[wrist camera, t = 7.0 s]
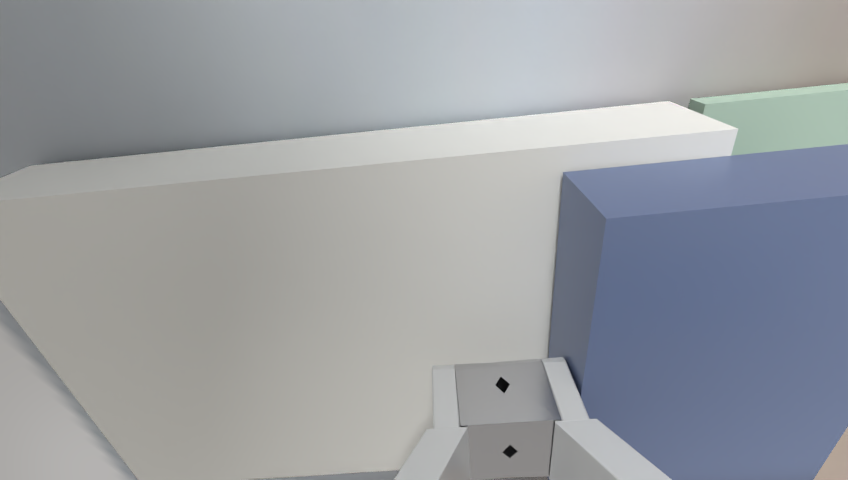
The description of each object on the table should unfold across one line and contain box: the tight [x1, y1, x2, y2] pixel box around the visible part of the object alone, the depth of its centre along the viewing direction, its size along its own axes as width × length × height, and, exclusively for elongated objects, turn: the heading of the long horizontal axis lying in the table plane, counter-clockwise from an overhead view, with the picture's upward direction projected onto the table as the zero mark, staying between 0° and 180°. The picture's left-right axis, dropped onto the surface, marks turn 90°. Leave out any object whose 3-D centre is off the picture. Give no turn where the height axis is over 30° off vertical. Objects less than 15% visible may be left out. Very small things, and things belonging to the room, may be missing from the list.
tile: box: [547, 144, 848, 480], centre depth 9 cm, size 9×6×2 cm, turn 5°
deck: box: [0, 101, 738, 480], centre depth 12 cm, size 10×16×2 cm, turn 96°
